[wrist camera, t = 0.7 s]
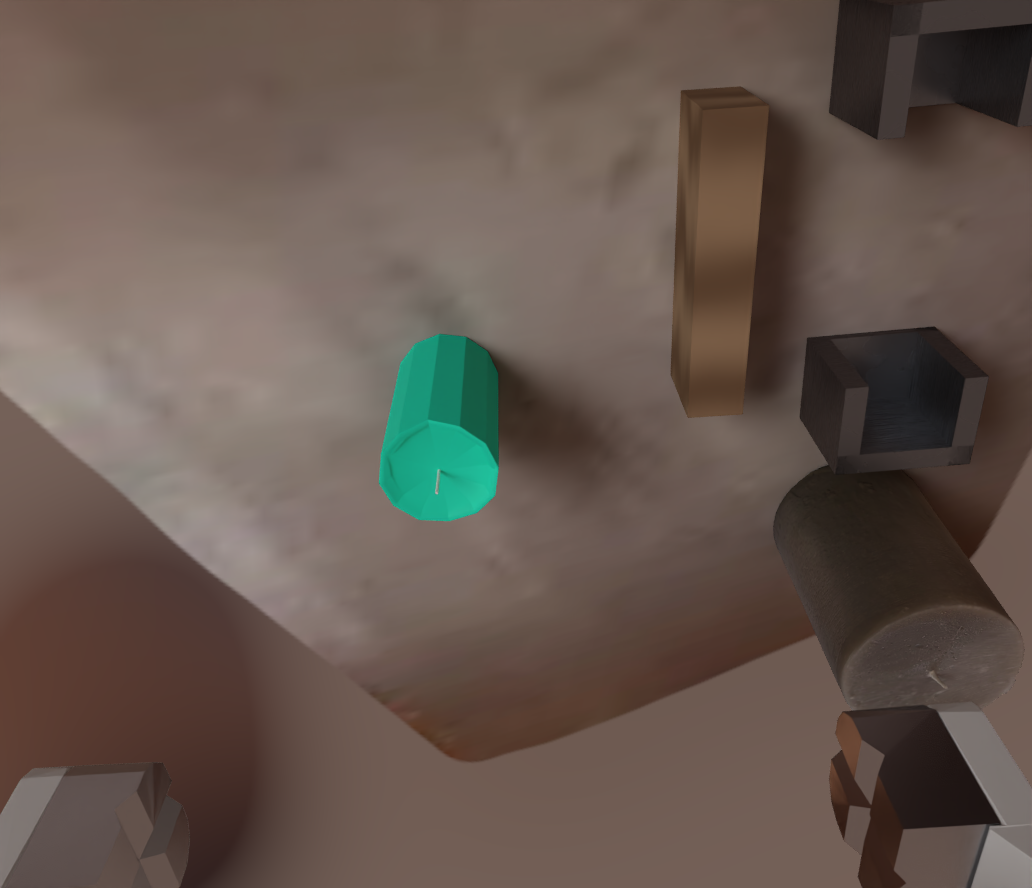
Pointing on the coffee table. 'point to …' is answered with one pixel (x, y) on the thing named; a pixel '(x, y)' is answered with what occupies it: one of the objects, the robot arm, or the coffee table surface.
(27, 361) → the coffee table surface
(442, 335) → the candle
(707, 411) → the slat
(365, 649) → the coffee table surface
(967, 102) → the endcap
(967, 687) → the pillar candle
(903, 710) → the robot arm
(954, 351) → the endcap
